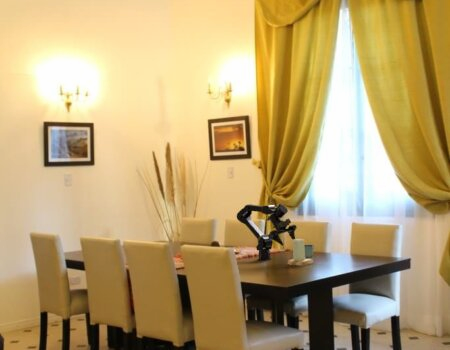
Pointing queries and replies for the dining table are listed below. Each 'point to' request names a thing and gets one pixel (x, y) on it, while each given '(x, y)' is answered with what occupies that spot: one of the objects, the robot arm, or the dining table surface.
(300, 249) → the tea tin
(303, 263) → the tan square coaster
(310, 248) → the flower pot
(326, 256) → the dining table surface
